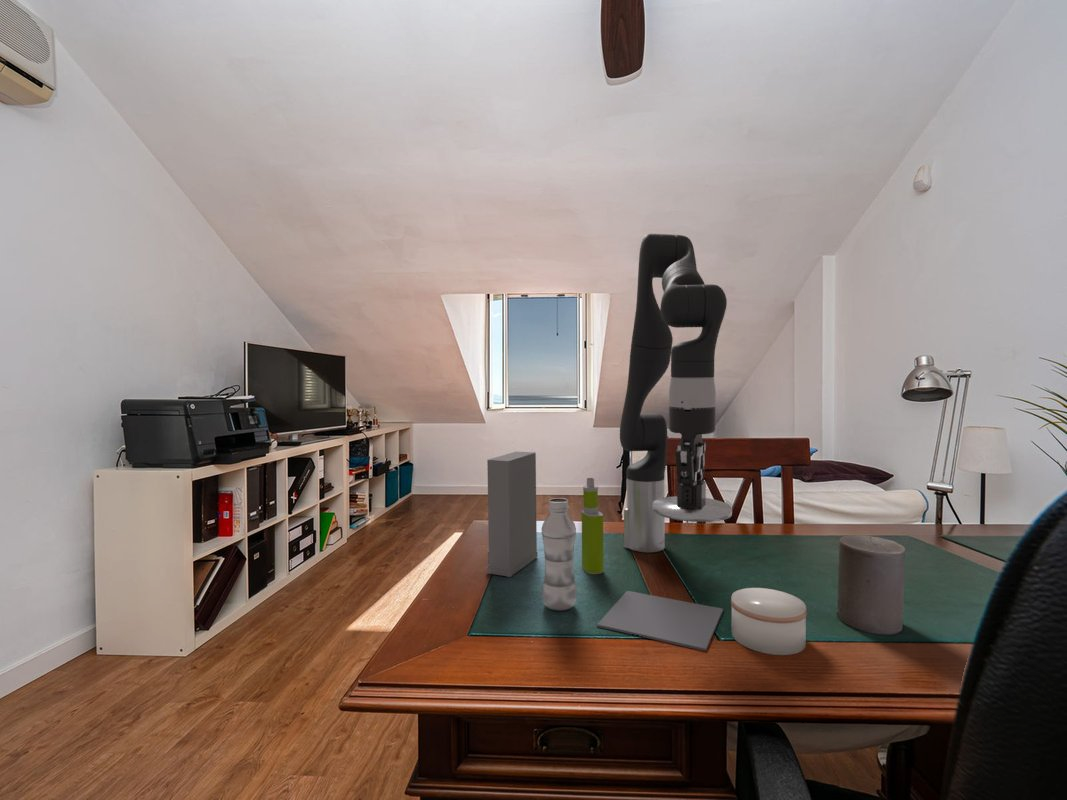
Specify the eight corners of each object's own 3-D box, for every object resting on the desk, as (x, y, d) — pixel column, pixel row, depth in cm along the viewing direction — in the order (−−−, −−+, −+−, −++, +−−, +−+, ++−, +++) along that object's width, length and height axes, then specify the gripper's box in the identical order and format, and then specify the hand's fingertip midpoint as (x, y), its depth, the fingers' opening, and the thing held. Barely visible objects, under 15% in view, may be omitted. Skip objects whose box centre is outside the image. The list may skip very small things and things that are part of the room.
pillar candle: (824, 615, 95) (826, 532, 94) (860, 605, 99) (863, 524, 98) (879, 640, 86) (881, 548, 85) (916, 628, 90) (919, 540, 89)
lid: (643, 516, 89) (643, 486, 89) (662, 498, 101) (662, 472, 100) (726, 525, 83) (726, 494, 83) (736, 506, 95) (736, 478, 94)
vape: (595, 563, 122) (595, 476, 121) (605, 573, 116) (604, 481, 116) (580, 565, 121) (579, 477, 120) (589, 574, 116) (588, 482, 115)
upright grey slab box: (514, 554, 129) (513, 451, 128) (537, 557, 127) (536, 452, 126) (485, 574, 117) (483, 459, 116) (510, 578, 114) (508, 461, 113)
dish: (725, 645, 85) (725, 607, 85) (735, 616, 95) (736, 583, 95) (805, 662, 80) (805, 622, 79) (807, 630, 89) (807, 595, 89)
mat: (597, 626, 92) (597, 624, 92) (627, 592, 106) (627, 590, 106) (705, 651, 83) (705, 648, 83) (723, 610, 97) (723, 608, 97)
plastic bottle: (581, 602, 102) (580, 497, 101) (571, 617, 95) (570, 505, 94) (548, 597, 104) (547, 495, 103) (537, 612, 97) (536, 503, 96)
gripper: (678, 401, 99) (678, 493, 100) (659, 406, 86) (658, 512, 87) (721, 402, 95) (720, 497, 96) (707, 407, 83) (706, 517, 84)
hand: (691, 503), depth 92 cm, fingers closed on lid, 4 cm apart
